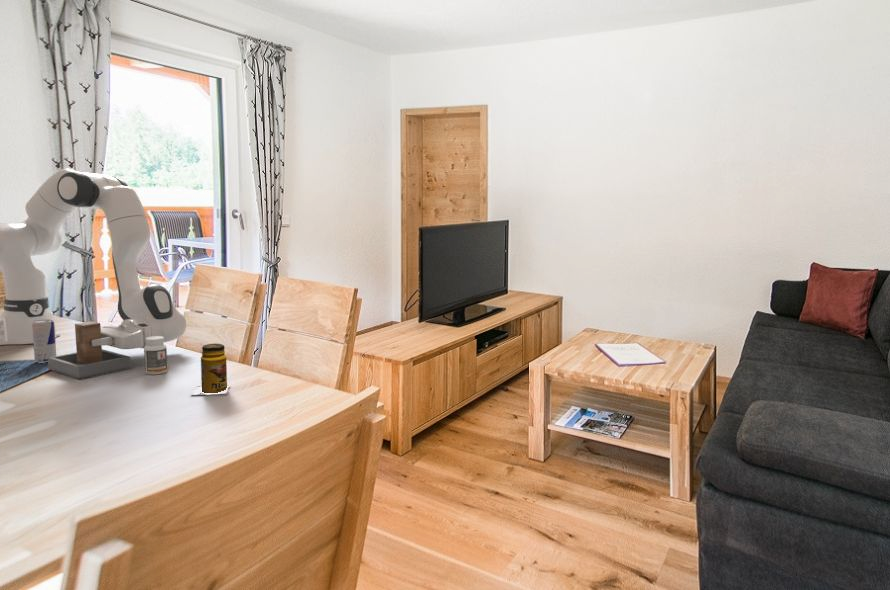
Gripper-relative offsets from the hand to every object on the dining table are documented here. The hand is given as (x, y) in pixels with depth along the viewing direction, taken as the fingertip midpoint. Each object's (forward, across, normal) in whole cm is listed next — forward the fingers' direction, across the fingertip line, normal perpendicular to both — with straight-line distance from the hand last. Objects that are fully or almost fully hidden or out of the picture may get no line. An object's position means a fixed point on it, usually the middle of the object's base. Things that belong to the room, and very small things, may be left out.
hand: (85, 341), depth 165 cm
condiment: (-8, +43, +8) cm, 45 cm away
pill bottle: (-10, +17, +8) cm, 21 cm away
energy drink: (+2, -18, +8) cm, 20 cm away
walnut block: (-1, 0, +6) cm, 6 cm away
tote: (-1, 0, +8) cm, 8 cm away
